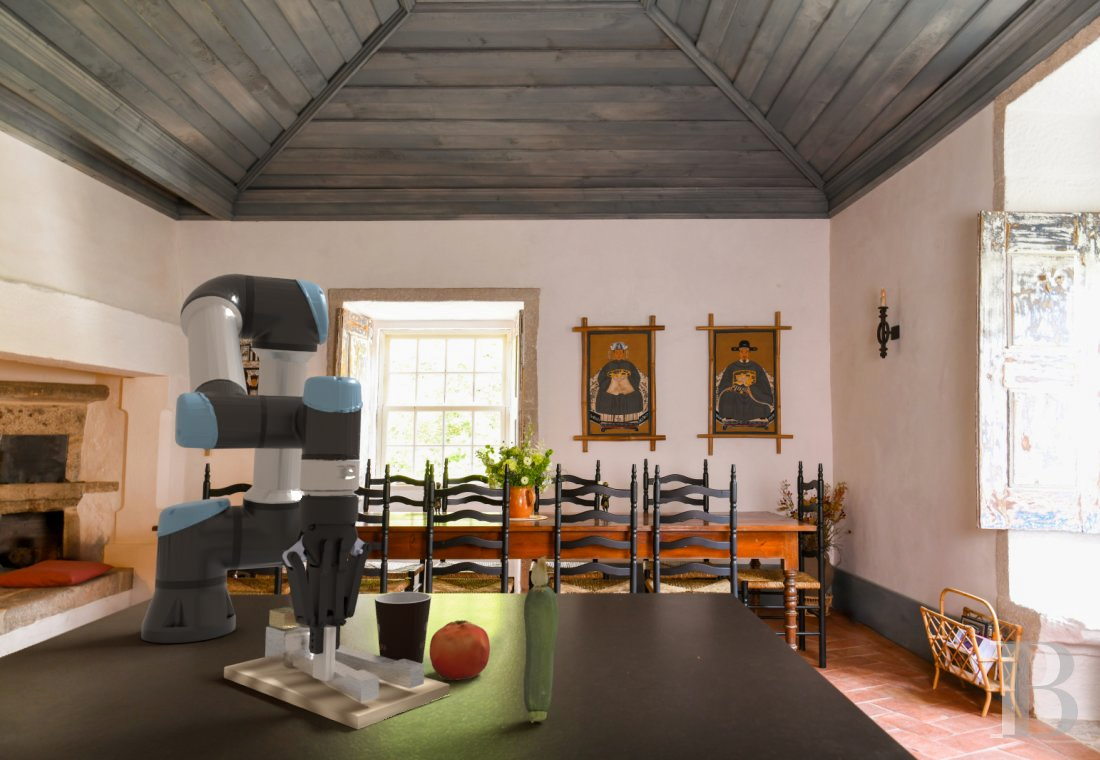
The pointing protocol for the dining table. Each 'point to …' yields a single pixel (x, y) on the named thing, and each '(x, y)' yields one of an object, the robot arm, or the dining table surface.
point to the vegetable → (539, 642)
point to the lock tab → (283, 618)
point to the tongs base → (343, 657)
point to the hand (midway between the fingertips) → (323, 677)
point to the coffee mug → (402, 624)
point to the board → (331, 692)
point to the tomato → (459, 650)
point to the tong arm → (342, 677)
